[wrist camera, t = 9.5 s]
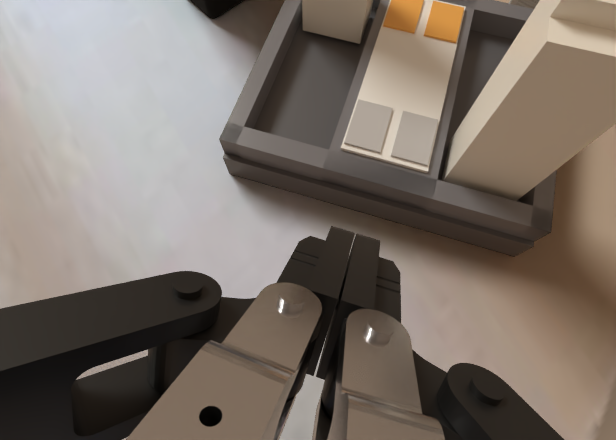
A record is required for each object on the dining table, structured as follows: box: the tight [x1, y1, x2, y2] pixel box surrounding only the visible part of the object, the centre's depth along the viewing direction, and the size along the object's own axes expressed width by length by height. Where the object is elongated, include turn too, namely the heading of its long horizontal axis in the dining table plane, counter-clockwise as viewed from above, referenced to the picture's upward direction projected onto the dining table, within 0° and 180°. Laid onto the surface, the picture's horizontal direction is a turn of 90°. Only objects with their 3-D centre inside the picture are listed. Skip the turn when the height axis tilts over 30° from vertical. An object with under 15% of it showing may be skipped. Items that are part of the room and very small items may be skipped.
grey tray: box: [219, 0, 557, 256], centre depth 24 cm, size 16×18×4 cm
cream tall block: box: [442, 0, 616, 201], centre depth 16 cm, size 3×4×11 cm
